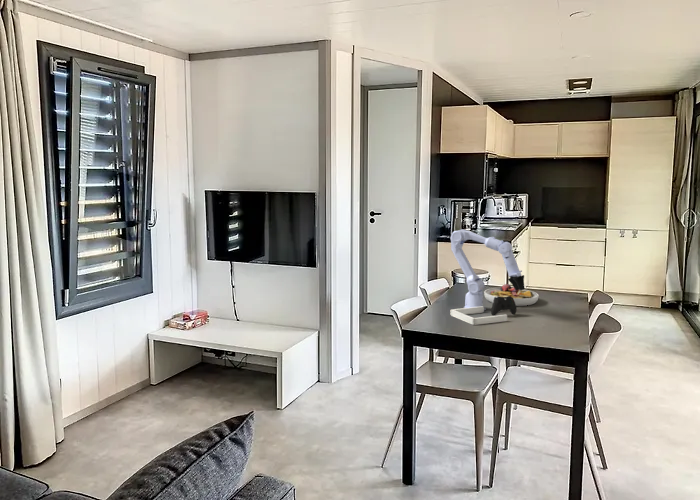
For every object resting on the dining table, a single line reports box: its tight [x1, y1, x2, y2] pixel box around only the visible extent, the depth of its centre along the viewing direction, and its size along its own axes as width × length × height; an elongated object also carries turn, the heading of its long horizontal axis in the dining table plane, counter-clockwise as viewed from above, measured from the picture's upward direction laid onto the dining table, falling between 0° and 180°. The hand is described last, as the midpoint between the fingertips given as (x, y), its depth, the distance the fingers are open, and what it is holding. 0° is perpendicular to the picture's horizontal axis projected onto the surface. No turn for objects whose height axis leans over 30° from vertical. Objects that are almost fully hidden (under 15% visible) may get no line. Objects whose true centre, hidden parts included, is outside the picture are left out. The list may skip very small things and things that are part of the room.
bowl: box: [483, 283, 540, 307], centre depth 318 cm, size 30×30×8 cm
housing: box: [449, 306, 508, 326], centre depth 279 cm, size 20×20×3 cm
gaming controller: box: [490, 296, 517, 316], centre depth 285 cm, size 14×6×10 cm, turn 105°
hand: (520, 289), depth 284 cm, fingers open, 7 cm apart
